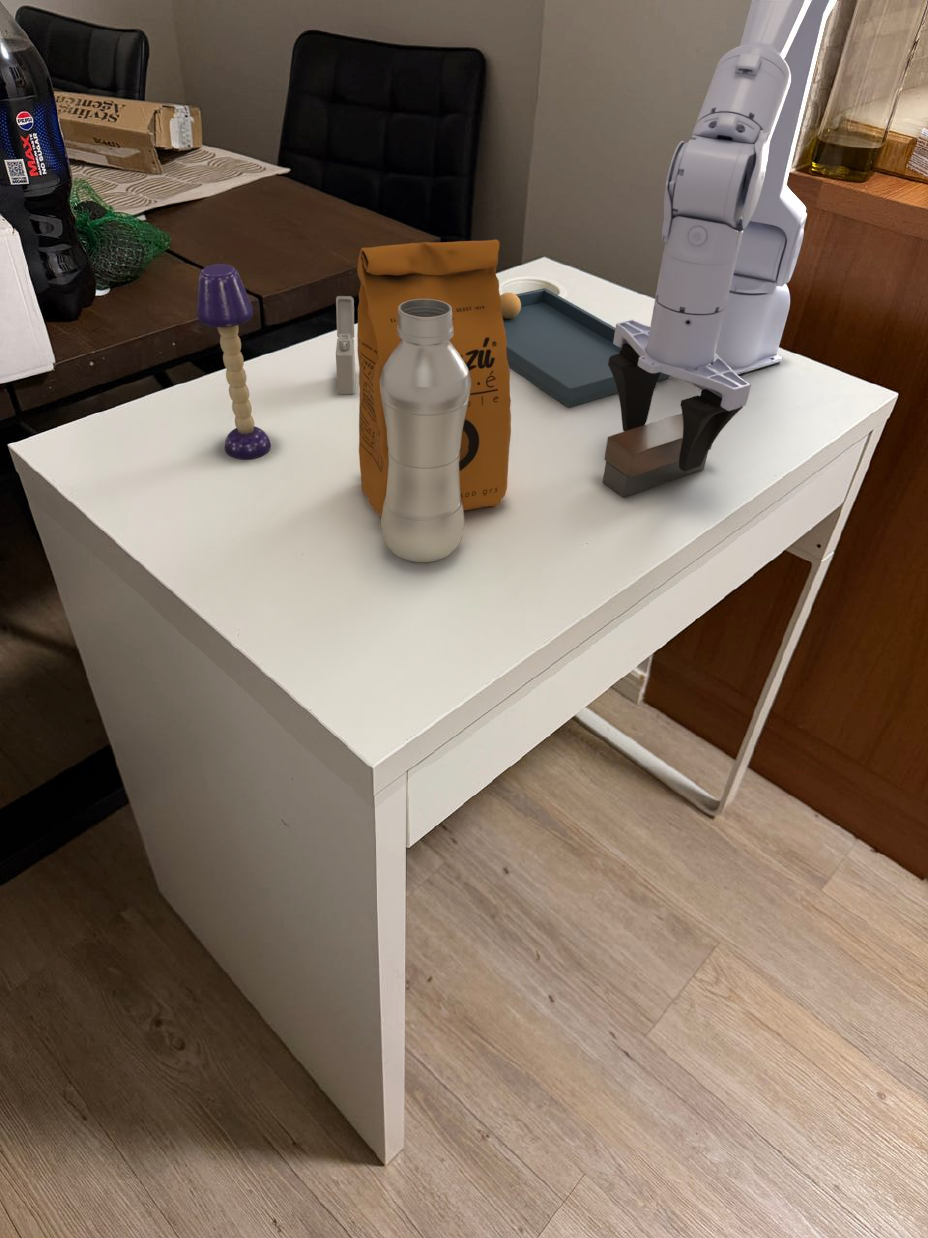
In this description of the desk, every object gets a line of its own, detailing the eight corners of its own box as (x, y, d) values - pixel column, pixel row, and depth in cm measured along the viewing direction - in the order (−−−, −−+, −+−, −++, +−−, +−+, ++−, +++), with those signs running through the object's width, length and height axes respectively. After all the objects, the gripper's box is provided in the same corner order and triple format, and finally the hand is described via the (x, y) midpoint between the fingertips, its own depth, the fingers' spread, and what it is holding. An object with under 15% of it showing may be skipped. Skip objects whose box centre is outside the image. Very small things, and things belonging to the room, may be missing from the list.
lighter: (354, 394, 95) (351, 319, 90) (337, 394, 95) (333, 319, 90) (356, 364, 101) (353, 291, 95) (340, 363, 100) (336, 291, 95)
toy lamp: (226, 464, 84) (199, 282, 73) (212, 440, 87) (184, 263, 76) (277, 453, 86) (257, 274, 75) (261, 430, 89) (240, 255, 78)
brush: (680, 453, 89) (689, 410, 86) (706, 470, 87) (716, 426, 84) (600, 480, 84) (607, 436, 81) (625, 499, 82) (633, 454, 79)
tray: (543, 304, 116) (545, 287, 114) (669, 377, 101) (673, 359, 100) (448, 325, 109) (448, 308, 108) (567, 407, 95) (570, 388, 94)
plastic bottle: (379, 529, 77) (372, 291, 65) (459, 526, 78) (468, 290, 65) (383, 574, 72) (377, 326, 60) (468, 570, 73) (480, 325, 60)
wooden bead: (529, 308, 109) (517, 320, 111) (519, 285, 109) (507, 297, 111) (509, 314, 107) (497, 325, 110) (498, 290, 107) (487, 302, 110)
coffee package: (514, 520, 79) (538, 262, 65) (371, 534, 77) (362, 269, 62) (486, 460, 86) (502, 216, 72) (354, 472, 84) (343, 221, 69)
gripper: (596, 279, 78) (576, 423, 86) (719, 344, 69) (683, 497, 77) (658, 266, 81) (633, 406, 90) (783, 326, 72) (742, 475, 81)
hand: (660, 447), depth 84 cm, fingers open, 7 cm apart
